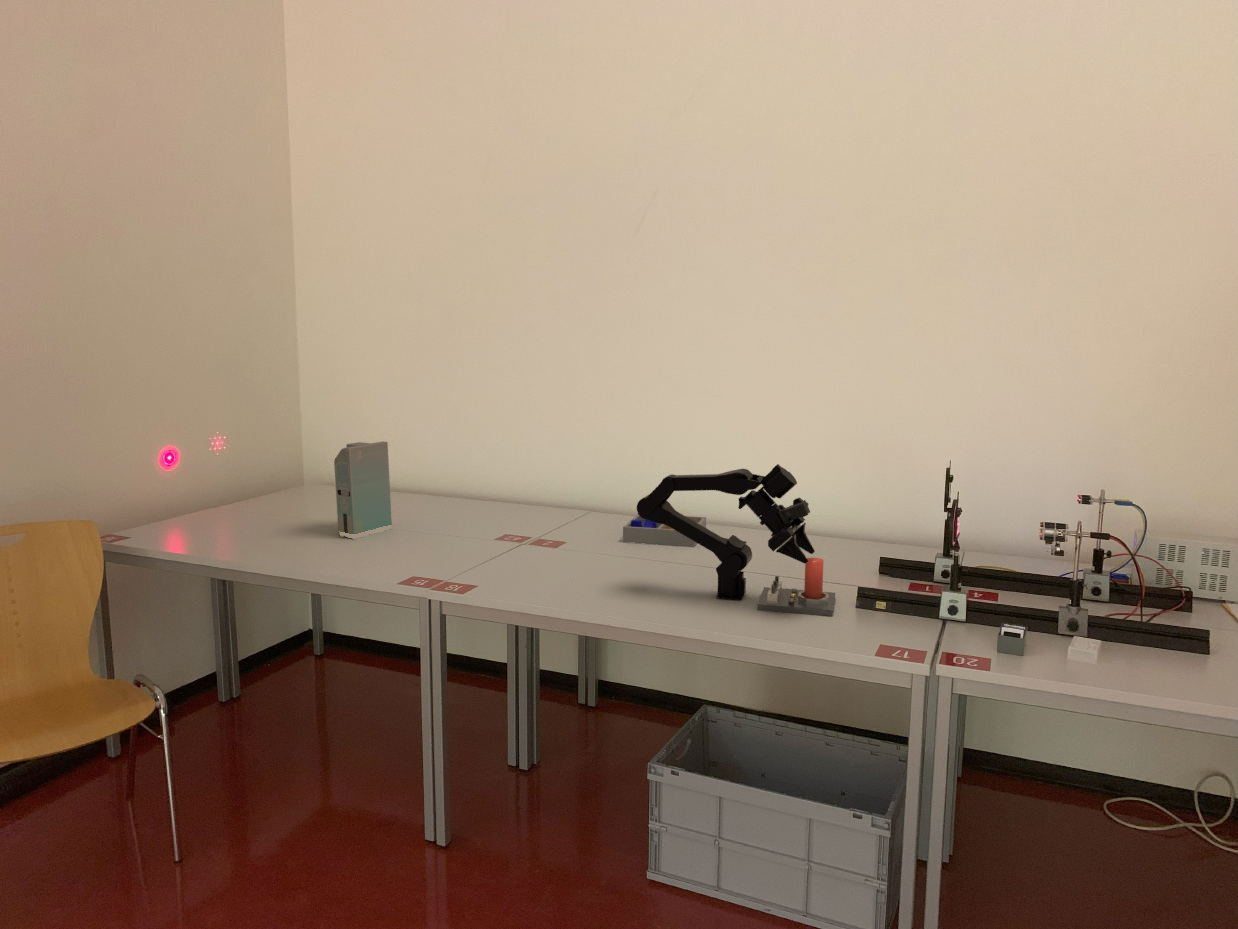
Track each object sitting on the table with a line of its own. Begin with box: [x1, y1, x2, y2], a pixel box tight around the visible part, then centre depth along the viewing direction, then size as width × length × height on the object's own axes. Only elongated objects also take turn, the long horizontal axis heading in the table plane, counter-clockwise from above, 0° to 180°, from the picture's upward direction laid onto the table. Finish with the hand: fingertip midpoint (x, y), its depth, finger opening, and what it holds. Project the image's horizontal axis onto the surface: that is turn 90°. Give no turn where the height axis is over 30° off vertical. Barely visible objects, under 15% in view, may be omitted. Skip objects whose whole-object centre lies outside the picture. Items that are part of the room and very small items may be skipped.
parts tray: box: [622, 514, 707, 548], centre depth 290 cm, size 23×20×5 cm
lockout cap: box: [803, 557, 824, 599], centre depth 221 cm, size 4×4×10 cm
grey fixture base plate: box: [756, 575, 836, 617], centre depth 223 cm, size 18×14×6 cm
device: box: [333, 441, 393, 534], centre depth 295 cm, size 16×8×30 cm, turn 148°
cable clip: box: [630, 519, 656, 528], centre depth 293 cm, size 12×4×6 cm, turn 151°
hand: (810, 557), depth 220 cm, fingers open, 9 cm apart
